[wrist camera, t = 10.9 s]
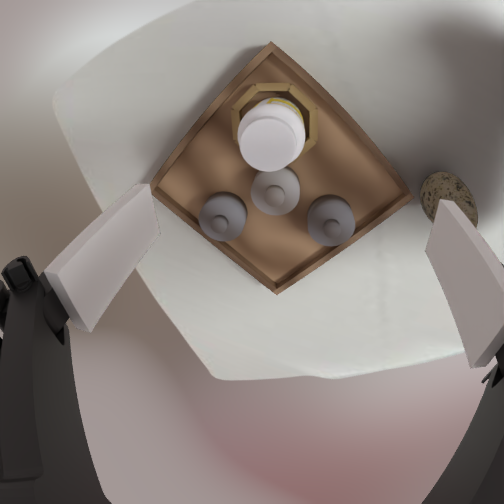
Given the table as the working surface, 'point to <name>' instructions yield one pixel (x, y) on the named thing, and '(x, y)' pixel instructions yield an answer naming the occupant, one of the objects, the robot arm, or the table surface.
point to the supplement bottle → (271, 134)
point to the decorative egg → (447, 195)
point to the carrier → (279, 178)
